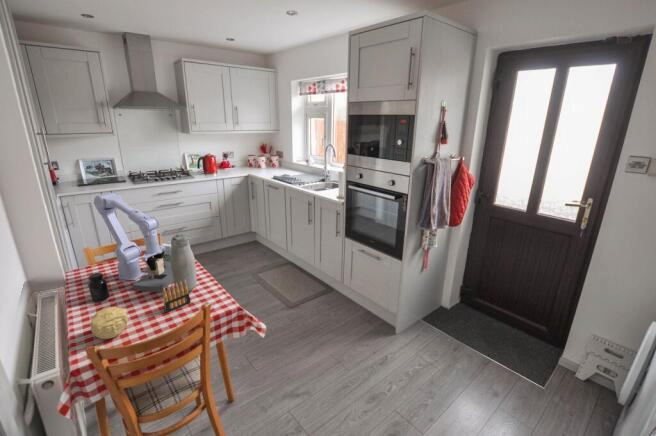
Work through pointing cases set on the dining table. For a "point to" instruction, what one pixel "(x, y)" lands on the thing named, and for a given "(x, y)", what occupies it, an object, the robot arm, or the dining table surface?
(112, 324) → the sculpture
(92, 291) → the supplement bottle
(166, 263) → the syrup box
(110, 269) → the dining table surface
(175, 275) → the grey bottle
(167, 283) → the slot board
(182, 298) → the ammunition clip
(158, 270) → the peg
